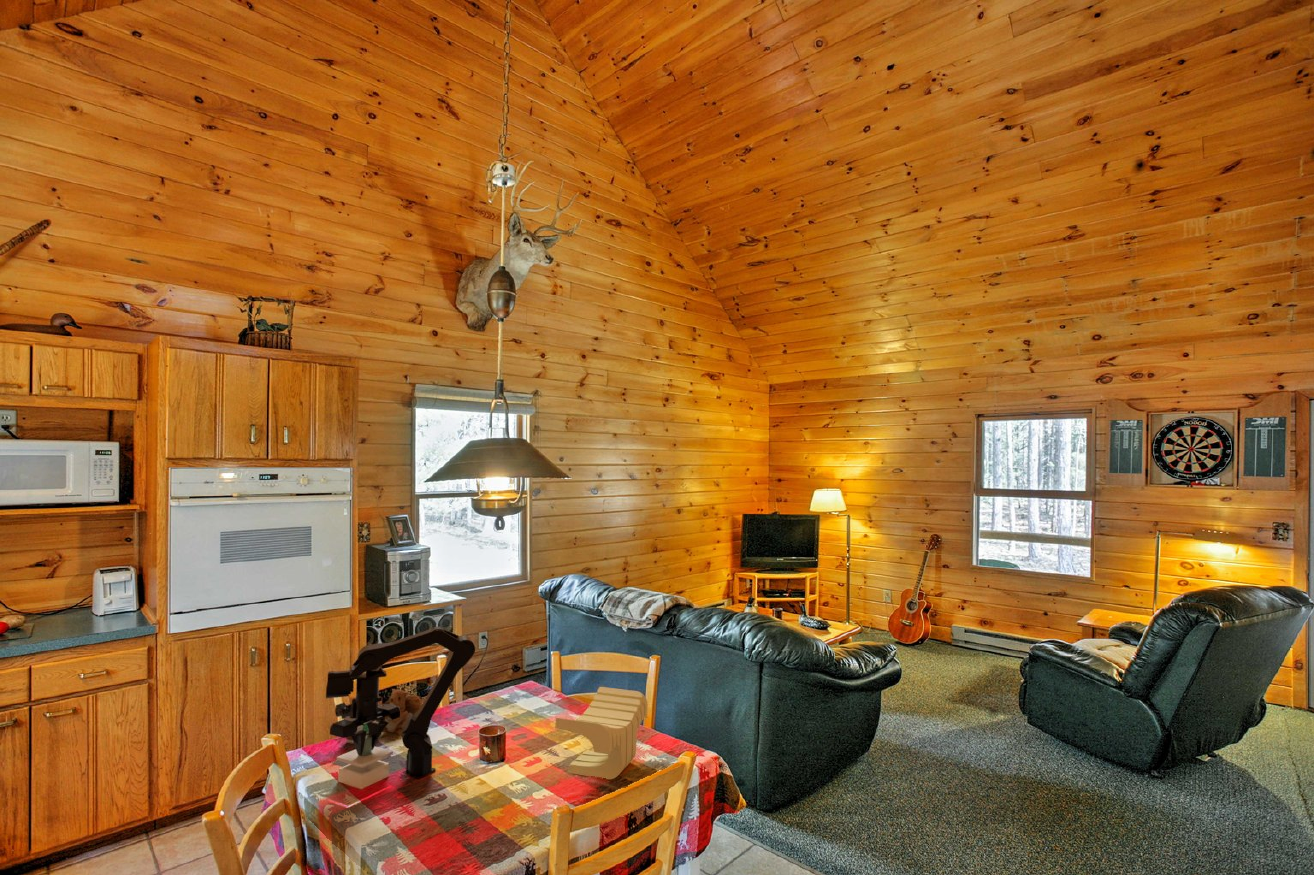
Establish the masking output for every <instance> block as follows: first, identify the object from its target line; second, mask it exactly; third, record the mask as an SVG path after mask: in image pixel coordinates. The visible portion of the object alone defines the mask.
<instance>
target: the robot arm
mask: <svg viewBox="0 0 1314 875" xmlns="http://www.w3.org/2000/svg"><path fill="white" fill-rule="evenodd" d="M436 644H437V645H439V646H441V647H443V648H445V649H446V650H448V654H447V658H446V662H445V664H444V666H443V668H442V670H441V671H440V673H439V675H438V676H437V678H436V679H435V681H434V683H433V685H432V686H431V688H430V691H429V692H428V693H427V695H426V696H425V699H423V701H422V705H421V707H420V709H419V710H418V711H417V712H416V713H415V714H414V715H413V714H412V713H409V714H408V717H407V719H406V721H405V722H404V723H403V724H402V732H401V733H402V734H401V740H402V744H403V746H404V748H406V749H407V754H406V764H405V765H406V766H405V768H406V770H404V771H402V774H404V775H408V777H411V778H414V779H418V780H419V779H421V778H422V779H423V778H424V777H425V776H427V775H430V774H432V773H434V772H435V771H436V770H437V769H436V768H435V767H432V765H433V763H432V762H433V745H432V740H431V736H430V735H429V734H428V732H429V730H430V729H429V728H430V725H431V721H432V718H433V716H434V714H435V713H436V712H437V710H438V708H439V705H440V704H441V702H442V700H443V699H444V697H445V696H446V694H447V692H448V690H449V688H450V687H451V685H452V683H453V681H454V680H455V678H456V676H457V675H458V673H459V671H460V670H462V669H464V668H463V667H465V666H466V665H467V663H469V662H470V660H471V659H472V658H473V656H474V655H475V653H476V646H475V643H474V642H473V641H472V639H471V637H469V636H468V635H465V634H462V635H458V634H457V633H454V632H451V631H450V630H447V629H444V628H442V627H441V626H438V625H437V626H433V627H432V628H430V629H427V630H424V631H422V632H417V633H416V634H412V635H409V636H407V637H403V638H399V639H397V640H394V641H390V642H382V643H378V642H377V643H374V644H373V643H372V644H367V645H365V646H362V648H360V650H359V651H358V652H357V653H358V654H357V655H356V656H357V658H356V660H355V661H354V662H353V664H352V665H351V666H350V668H349V669H348V670H340V671H339V670H337V671H336V670H331V671H328V672H327V682H326V690H325V699H333V698H334V699H335V698H342V697H343V698H344V697H349V696H350V695H351V694H352V693H353V692H354V685H355V680H356V686H355V687H356V688H355V690H356V691H355V697H353V698H352V700H351V703H349V704H346V703H345V702H342V703H339V704H335V710H334V714H335V717H336V718H339V717H341V719H342V720H338V721H336V722H333V723H331V725H330V728H329V735H330V736H334V737H338V738H342V739H346V738H347V737H349V736H351V738H352V740H353V742H354V744H353V745H354V747H355V749H356V751H357V753H358V755H362V752H363V748H364V743H365V738H366V733H367V731H364V730H363V725H365V724H367V726H368V729H369V735H370V736H372V750H373V748H374V746H376V744H377V743H378V741H379V738H380V737H381V735H382V733H383V732H384V731H383V730H384V728H385V726H386V725H388V722H386V721H385V717H386V716H389V718H390V719H391V720H394V719H396V718H399V717H400V709H399V707H397V706H393V705H389V703H388V704H387V703H386V704H384V705H382V706H381V707H378V705H379V703H380V702H381V701H382V700H383V699H382V697H383V696H379V693H380V678H385V677H387V675H388V674H387V670H385V669H383V668H382V666H384V665H385V664H387V663H389V662H390V661H391V660H393V659H394V658H397V657H400V656H403V655H405V654H408V653H412V652H414V651H418V650H421V649H424V648H426V647H429V646H432V645H436ZM348 716H350V718H351V719H353V718H355V720H354V721H348V720H344V718H345V717H348ZM382 731H383V732H382Z"/></svg>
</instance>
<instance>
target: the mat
mask: <svg viewBox="0 0 1314 875" xmlns="http://www.w3.org/2000/svg"><path fill="white" fill-rule="evenodd" d="M389 758H390V756H388V757H385V758H383V759H381V760H380V761H384V760H387V759H389ZM331 764H333V765H336V766H340V767H343V766H346V765H348V763H345V762H342V761H338V760H337V759H336V760H335V761H333V762H331Z"/></svg>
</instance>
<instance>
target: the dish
mask: <svg viewBox="0 0 1314 875" xmlns="http://www.w3.org/2000/svg"><path fill="white" fill-rule="evenodd" d="M388 777H390V762H386V761H384V760H382V761H380V760H378V761H376V762H374V763H372V764H369V765H367V766H365V767H358V766H355V765H352V764H348V765H346V766H343V767H342V766H340V767H339V768H338V781H337V782H338V783H342V784H345V785H347V786H350V787H353V788H356V789H359V790H363V789H365V788H367V787H369V786H371V785H373V784H375V783H378V782H379V781H382V780H384V779H386V778H388Z"/></svg>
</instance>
